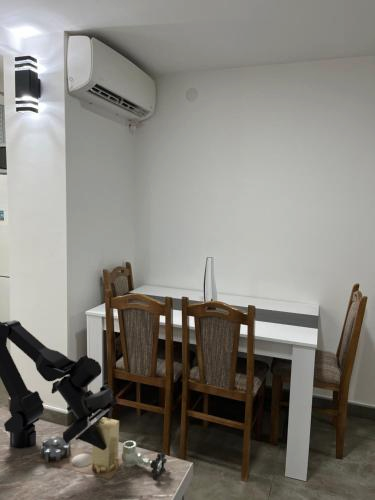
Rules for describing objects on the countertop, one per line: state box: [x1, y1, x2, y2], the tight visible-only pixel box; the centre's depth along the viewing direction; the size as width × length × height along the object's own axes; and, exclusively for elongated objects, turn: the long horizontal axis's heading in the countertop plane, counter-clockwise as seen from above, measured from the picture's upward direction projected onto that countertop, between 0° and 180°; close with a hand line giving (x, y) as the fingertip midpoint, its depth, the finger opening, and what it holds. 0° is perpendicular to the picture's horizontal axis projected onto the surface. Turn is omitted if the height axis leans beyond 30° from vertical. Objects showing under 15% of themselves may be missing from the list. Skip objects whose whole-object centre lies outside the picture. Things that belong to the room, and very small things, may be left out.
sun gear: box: [39, 435, 72, 464], centre depth 109 cm, size 8×8×4 cm
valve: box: [121, 440, 168, 481], centre depth 105 cm, size 7×7×12 cm
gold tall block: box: [91, 417, 120, 474], centre depth 105 cm, size 7×7×12 cm
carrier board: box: [32, 447, 123, 480], centre depth 107 cm, size 24×9×1 cm, turn 73°
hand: (110, 443), depth 104 cm, fingers closed on gold tall block, 5 cm apart
